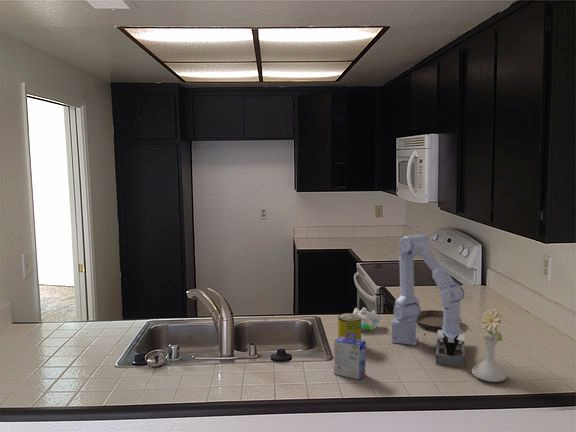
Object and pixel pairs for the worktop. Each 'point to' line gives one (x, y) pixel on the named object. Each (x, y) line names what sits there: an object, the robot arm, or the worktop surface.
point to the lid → (440, 336)
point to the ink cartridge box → (349, 356)
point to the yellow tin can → (349, 325)
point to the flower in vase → (490, 349)
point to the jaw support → (372, 316)
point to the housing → (449, 359)
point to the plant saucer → (431, 319)
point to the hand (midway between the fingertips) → (450, 354)
